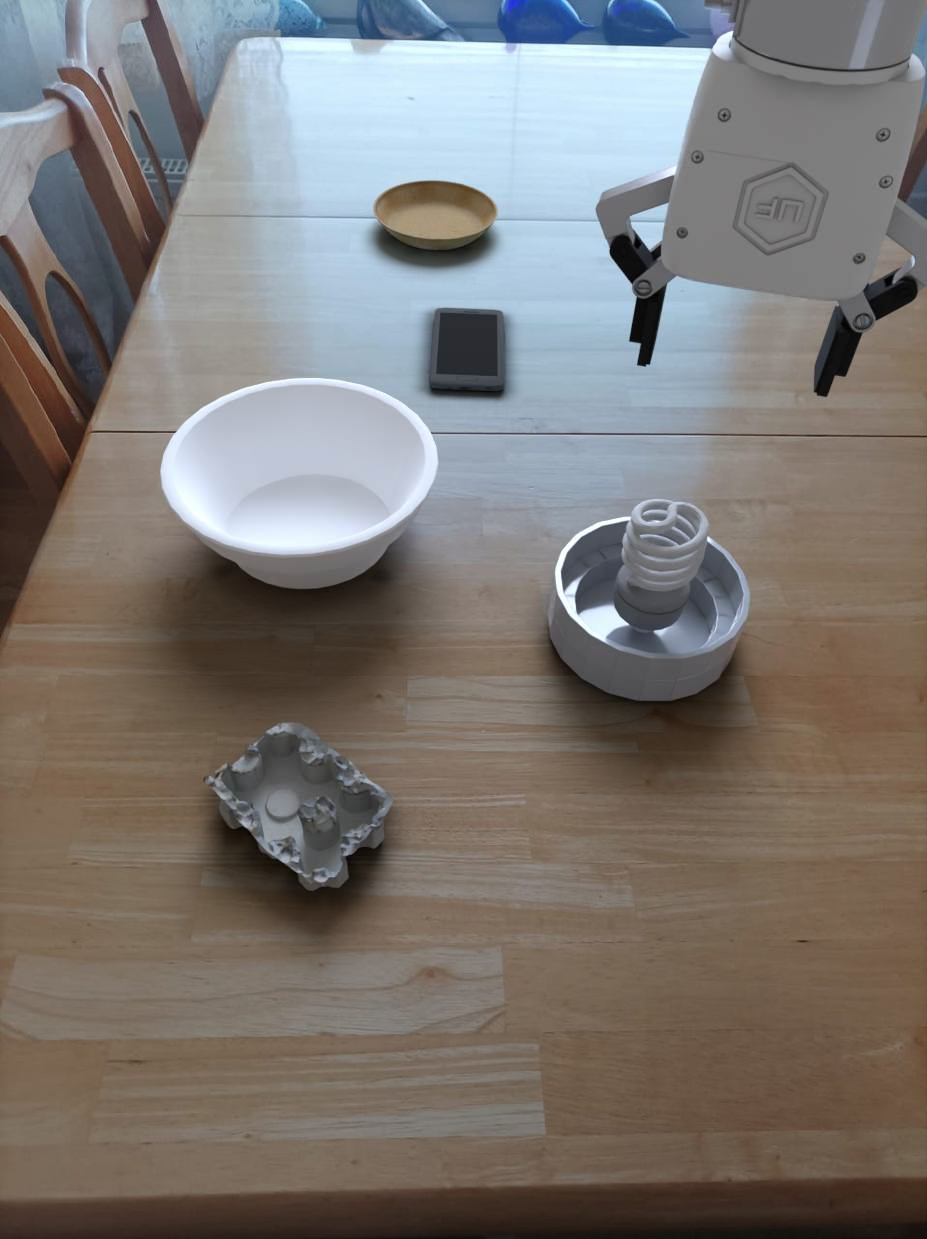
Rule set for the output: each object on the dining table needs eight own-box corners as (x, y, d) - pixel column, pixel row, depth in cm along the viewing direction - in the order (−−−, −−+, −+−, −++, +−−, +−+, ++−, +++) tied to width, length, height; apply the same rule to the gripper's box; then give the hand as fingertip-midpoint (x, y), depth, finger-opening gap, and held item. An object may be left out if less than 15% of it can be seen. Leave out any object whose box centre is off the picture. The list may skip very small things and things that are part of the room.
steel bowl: (759, 617, 73) (780, 568, 69) (680, 738, 65) (697, 691, 61) (603, 542, 78) (614, 492, 74) (512, 646, 70) (518, 597, 66)
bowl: (159, 484, 81) (137, 405, 75) (389, 433, 87) (387, 357, 80) (210, 663, 68) (189, 586, 62) (476, 590, 74) (481, 513, 68)
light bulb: (628, 665, 69) (659, 549, 60) (590, 612, 72) (615, 494, 63) (692, 643, 70) (732, 526, 61) (653, 592, 74) (685, 474, 65)
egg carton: (204, 808, 61) (192, 775, 58) (291, 736, 64) (284, 701, 61) (318, 913, 56) (312, 882, 53) (404, 828, 60) (402, 796, 57)
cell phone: (429, 389, 91) (429, 382, 91) (434, 312, 100) (434, 306, 100) (504, 392, 91) (504, 385, 91) (503, 315, 100) (503, 308, 100)
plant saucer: (504, 208, 117) (506, 187, 115) (486, 266, 107) (487, 244, 105) (389, 194, 118) (389, 173, 116) (360, 251, 109) (359, 229, 107)
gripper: (610, 21, 38) (567, 378, 51) (1059, 70, 36) (894, 435, 48) (636, -28, 43) (590, 310, 56) (1033, 12, 41) (890, 357, 53)
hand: (731, 367), depth 52 cm, fingers open, 9 cm apart
